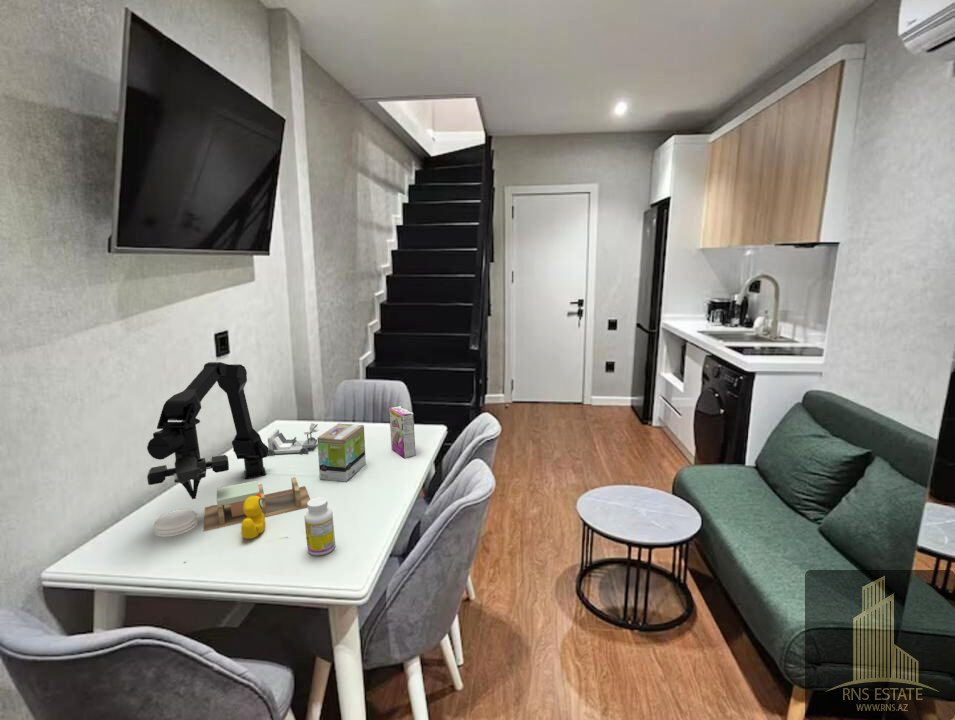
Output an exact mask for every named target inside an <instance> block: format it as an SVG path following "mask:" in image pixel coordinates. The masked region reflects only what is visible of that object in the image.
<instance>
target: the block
mask: <svg viewBox="0 0 955 720" xmlns="http://www.w3.org/2000/svg"><path fill="white" fill-rule="evenodd" d="M244 502H245V501H240V502H235V503H230V505H231V513H232V517H235V516H239V515H244V514H245V513H244V511H243V505H244Z"/></svg>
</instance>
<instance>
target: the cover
mask: <svg viewBox="0 0 955 720" xmlns="http://www.w3.org/2000/svg"><path fill="white" fill-rule="evenodd" d="M258 485H259V482H258V480H253V481H249V482H243V483H239V484H238V483H237V484H233V485H227V486H224V487H223V486H222V487H217V488H216V505H217V506H221V505H226V504H230V503H235V502H240V501H245V500H246V499H247V498H248V497H250V496H256V494H257V493H259V487H258Z"/></svg>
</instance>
